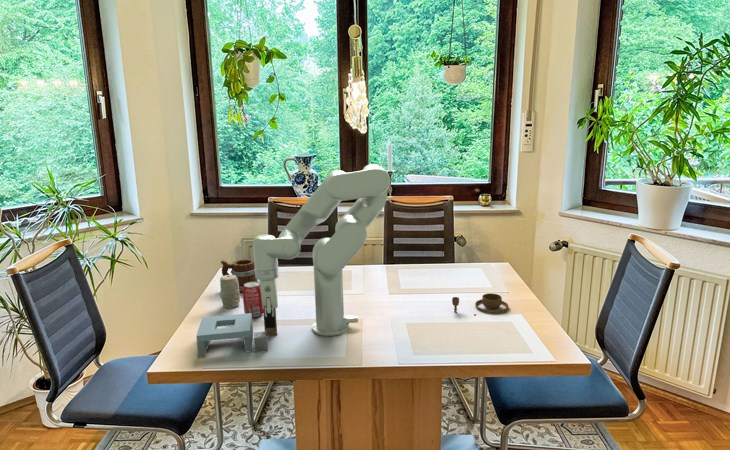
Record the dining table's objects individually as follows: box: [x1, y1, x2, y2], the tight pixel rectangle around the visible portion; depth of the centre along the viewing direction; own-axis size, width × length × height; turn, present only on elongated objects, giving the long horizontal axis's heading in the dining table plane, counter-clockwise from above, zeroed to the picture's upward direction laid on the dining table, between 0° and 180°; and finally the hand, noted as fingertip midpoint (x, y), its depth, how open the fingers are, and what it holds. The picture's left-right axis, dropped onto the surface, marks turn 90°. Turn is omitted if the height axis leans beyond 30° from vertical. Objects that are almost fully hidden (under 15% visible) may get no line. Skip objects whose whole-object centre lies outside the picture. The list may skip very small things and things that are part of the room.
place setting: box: [451, 293, 509, 317], centre depth 189 cm, size 18×20×6 cm
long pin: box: [262, 300, 278, 337], centre depth 171 cm, size 4×4×11 cm
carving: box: [219, 274, 241, 309], centre depth 195 cm, size 6×8×12 cm
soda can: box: [242, 281, 263, 319], centre depth 186 cm, size 7×7×12 cm
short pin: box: [253, 330, 269, 353], centre depth 160 cm, size 4×4×5 cm
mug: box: [220, 258, 260, 294], centre depth 212 cm, size 12×14×15 cm
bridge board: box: [195, 313, 254, 358], centre depth 164 cm, size 16×14×7 cm
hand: (270, 324), depth 171 cm, fingers closed on long pin, 4 cm apart
